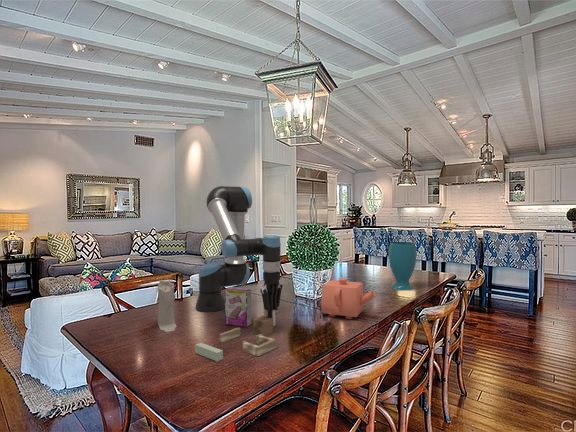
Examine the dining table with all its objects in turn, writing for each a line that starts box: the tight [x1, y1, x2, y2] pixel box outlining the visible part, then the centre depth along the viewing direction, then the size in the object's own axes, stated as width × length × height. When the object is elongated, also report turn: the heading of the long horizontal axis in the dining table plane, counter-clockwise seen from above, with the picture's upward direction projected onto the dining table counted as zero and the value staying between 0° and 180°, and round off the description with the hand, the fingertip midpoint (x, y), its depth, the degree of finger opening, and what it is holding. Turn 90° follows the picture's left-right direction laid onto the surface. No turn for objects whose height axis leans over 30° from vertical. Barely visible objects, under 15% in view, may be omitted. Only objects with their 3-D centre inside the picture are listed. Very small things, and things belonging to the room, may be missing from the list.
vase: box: [388, 241, 417, 291], centre depth 230 cm, size 17×17×30 cm
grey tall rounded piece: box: [157, 280, 177, 333], centre depth 154 cm, size 7×14×20 cm, turn 27°
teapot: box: [320, 277, 377, 320], centre depth 171 cm, size 25×23×18 cm
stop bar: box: [194, 342, 224, 362], centre depth 123 cm, size 12×2×3 cm, turn 53°
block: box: [252, 315, 274, 337], centre depth 147 cm, size 6×6×6 cm
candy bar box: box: [224, 286, 252, 328], centre depth 157 cm, size 11×5×16 cm, turn 71°
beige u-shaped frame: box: [219, 327, 277, 357], centre depth 134 cm, size 22×11×3 cm, turn 53°
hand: (271, 324), depth 151 cm, fingers closed
